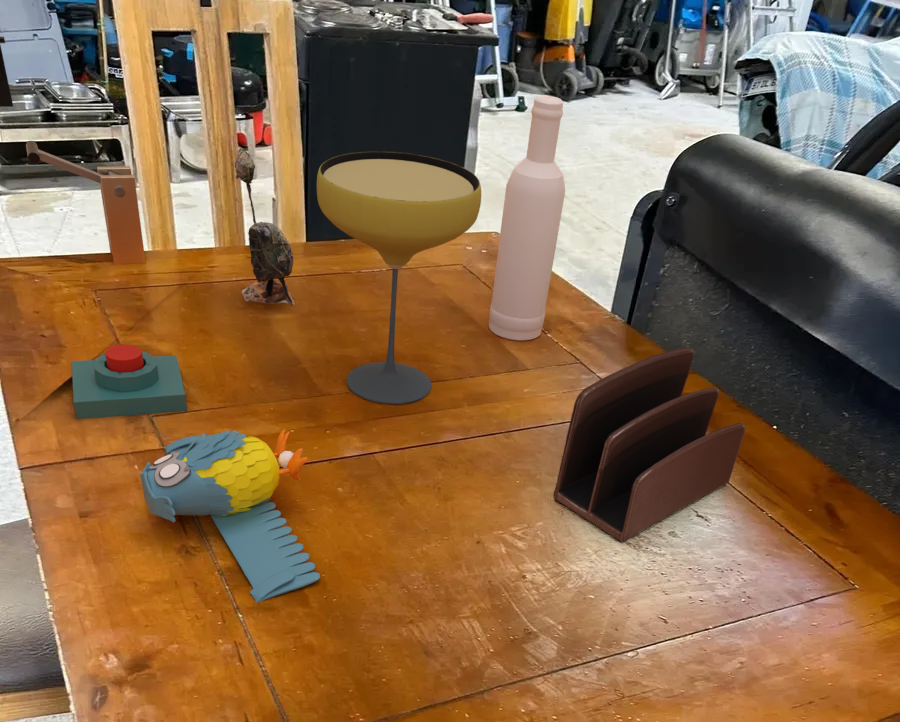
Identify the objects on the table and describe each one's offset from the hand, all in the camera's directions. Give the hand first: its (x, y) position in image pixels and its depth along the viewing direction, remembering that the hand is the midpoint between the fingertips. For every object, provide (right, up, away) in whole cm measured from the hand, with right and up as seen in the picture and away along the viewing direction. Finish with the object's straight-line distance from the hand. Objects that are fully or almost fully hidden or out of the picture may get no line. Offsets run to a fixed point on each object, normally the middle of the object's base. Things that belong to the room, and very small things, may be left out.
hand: (1, 104), depth 112 cm
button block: (+19, -39, -8) cm, 44 cm away
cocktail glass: (+49, -36, 0) cm, 61 cm away
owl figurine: (+35, -54, -23) cm, 69 cm away
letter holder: (+79, -51, -13) cm, 95 cm away
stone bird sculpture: (+31, -20, +15) cm, 40 cm away
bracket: (+9, -14, +19) cm, 26 cm away
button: (+20, -36, -10) cm, 42 cm away
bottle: (+67, -24, +16) cm, 72 cm away
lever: (+6, -5, +9) cm, 12 cm away
